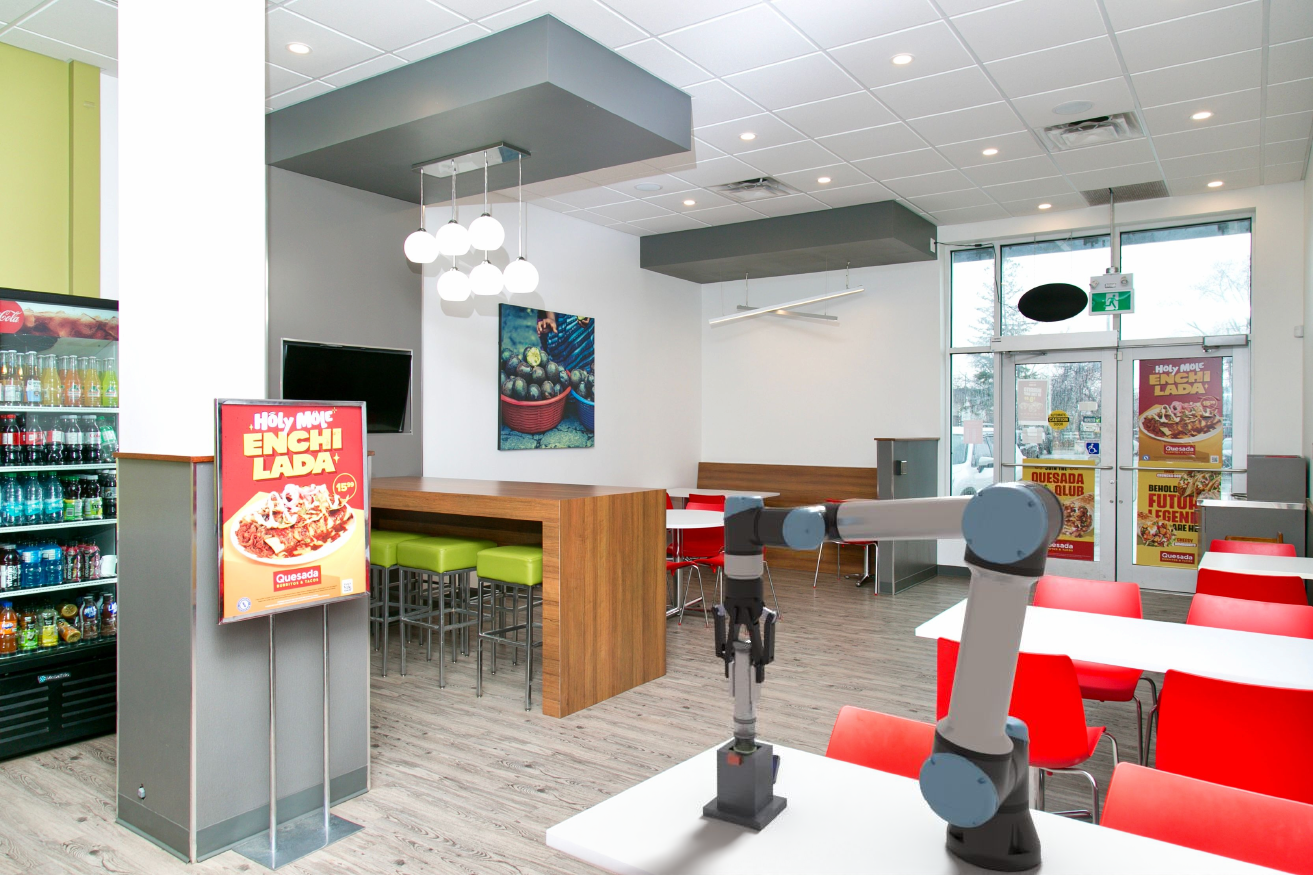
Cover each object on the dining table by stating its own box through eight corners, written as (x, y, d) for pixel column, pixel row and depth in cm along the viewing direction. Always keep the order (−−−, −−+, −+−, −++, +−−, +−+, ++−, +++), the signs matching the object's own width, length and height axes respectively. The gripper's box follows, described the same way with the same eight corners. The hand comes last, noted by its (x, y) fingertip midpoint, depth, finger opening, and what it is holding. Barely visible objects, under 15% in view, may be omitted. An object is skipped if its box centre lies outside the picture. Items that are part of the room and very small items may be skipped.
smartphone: (740, 779, 169) (748, 752, 184) (740, 783, 169) (748, 756, 184) (775, 781, 168) (780, 754, 182) (775, 786, 168) (781, 758, 182)
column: (761, 759, 157) (761, 639, 157) (750, 768, 153) (750, 644, 153) (739, 754, 159) (738, 636, 159) (728, 762, 155) (727, 641, 155)
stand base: (786, 805, 158) (786, 743, 158) (760, 830, 148) (760, 764, 148) (731, 791, 164) (731, 732, 164) (702, 814, 154) (702, 751, 154)
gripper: (792, 576, 155) (793, 699, 155) (714, 569, 164) (714, 685, 164) (776, 581, 149) (777, 710, 148) (695, 574, 158) (696, 695, 157)
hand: (744, 696), depth 156 cm, fingers closed on column, 4 cm apart
